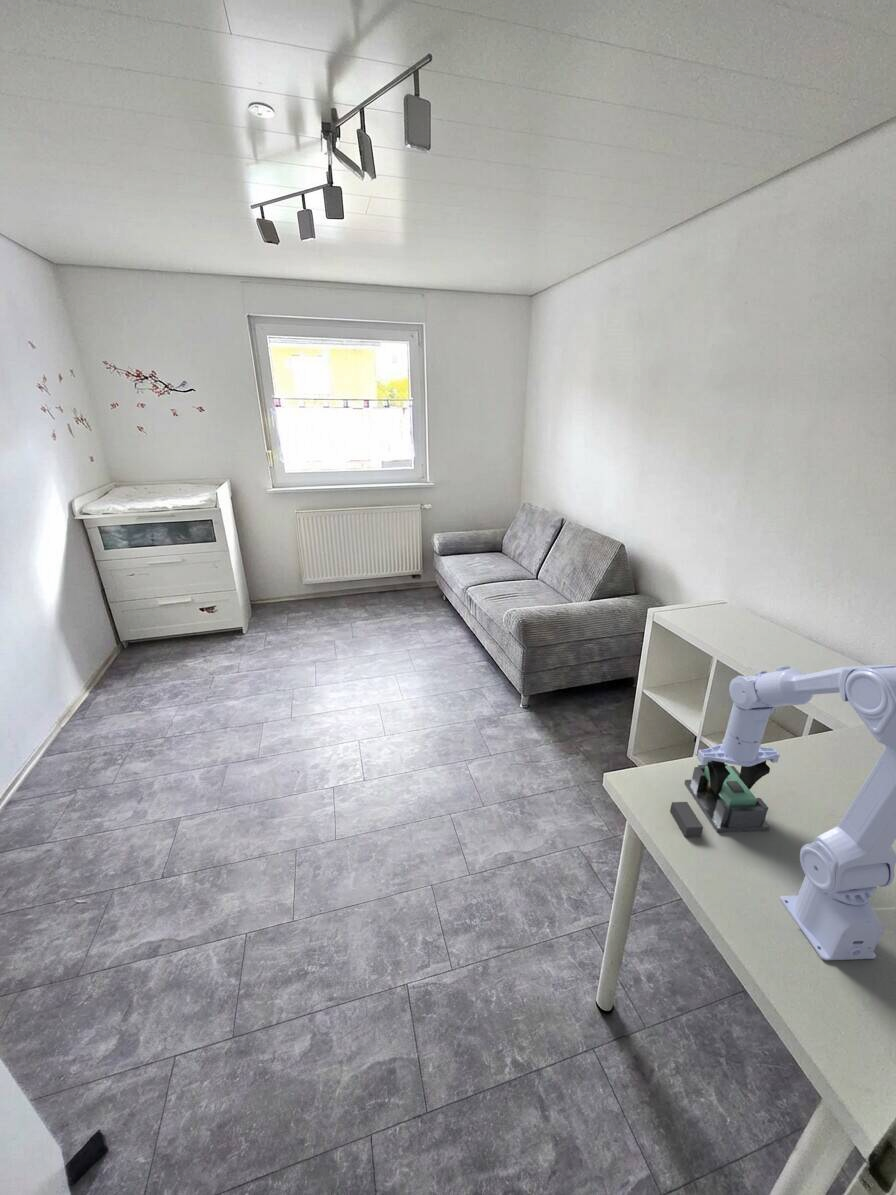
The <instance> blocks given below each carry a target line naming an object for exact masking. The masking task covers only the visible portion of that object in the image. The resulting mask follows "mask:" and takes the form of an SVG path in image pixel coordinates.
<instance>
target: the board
mask: <svg viewBox="0 0 896 1195" xmlns="http://www.w3.org/2000/svg"><path fill="white" fill-rule="evenodd" d="M730 766H731V765H728V766H726V769H727V770H728V771H729V772H730V775H728V777H727V778H726V779H725V781H724V783H723V786H722V789H721V791H720V793H719V796H720V797H721V799H723V800H724V801H725V802H726V804H727V805H728V806H729V808H730V807H755V805H756V802H757V799H756V798H757V797H756V796H755V795H754V794H753V793H752V791H751V789H750V790H749V789H748V788H747V786H746V785H745V784H744V783H743V781H742V780H741V779H740V778H739V777H738V775H737V774H736V773H735V772H734V770H733V769H732V768H731V767H730ZM704 774H705V775H706V776H705V777H706V778H707V779H708V781H709V782H710V775H709V770H708V766H705V771H704Z"/></svg>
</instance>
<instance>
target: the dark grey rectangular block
mask: <svg viewBox="0 0 896 1195" xmlns="http://www.w3.org/2000/svg"><path fill="white" fill-rule="evenodd" d="M669 813H670V815H671V816H672V818H673V819H674V821H675V823H676V825H677V826H678V829H679V830H680V831H681V833H682V835H683V837H684V838H700V837H701V836H702V833H703V830H704V826H703V825H702V823H701V821H700V819H699V818H698V817H697V815H696V813H695V812H694V810H693V809H692V807H691V806H690V804H689V803H688V801H672V802H671V805H670V809H669Z"/></svg>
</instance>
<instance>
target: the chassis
mask: <svg viewBox="0 0 896 1195" xmlns="http://www.w3.org/2000/svg"><path fill="white" fill-rule="evenodd" d="M725 765H726V766H730V767H731V768H732V769H733V770H734V772H735V773H736V774H737V775H738V777H739V776H740V772H739V770H738V769H737V768H736V767H735V765H728V763H725ZM705 766H707V765H702V764H698V766H695V767H694V768H693V772H692V776H691V779H685V780H684V785H685V787H686V788H687V790H688V791H689V793H690V794H691V796H692V798H694V799H693V800H695V802H696V804H698V806H699V808H700V809H701V811H702V813H703V814H704V815H705V817H706V818H707V821H709V823H710V824H711V826H712V828H713V829H714V830H715V832H716V833H735V832H736V833H739V832H740V833H741V832H744V833H745V832H769V831H770V829H771V826H770V824H769V823H768V822H767V820H766V816H767V814H768V810H769V807H768V805H767V804H766V803H765V801H763V799H762V798H761V797H756V799H757V802H756V805H755V807H730V808H729V806H728V805H727V804H726V802H725V801H724V800H723V799H721V797H720V796H719V794H715V792H714V791H713V790H712V788H711V787H710V782H709V781H708V779H707V778H706V777H705V776H706V775H705V774H704V771H705Z"/></svg>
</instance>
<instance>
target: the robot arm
mask: <svg viewBox="0 0 896 1195" xmlns="http://www.w3.org/2000/svg"><path fill="white" fill-rule="evenodd" d="M775 669H776V671H771V672H768V671H767V670H760V671H757V672H756V675H737V676H736V677H734V678H733V679H731V680H730V683H729V687H728V689H729V696H730V698H731V700H732V702H733V703H732V707H731V710H730V711H731V712H730V714H729V718H728V723H727V726H726V729H725V734H724V738H722V743H720V744H717V745H714V746H711V747H707V748H705V749H698V751H697V756H696V758H697V760H698V761H699V763H700V765H707V766H708V770H709V775H710V787H711V788H712V790H713V791H714V792H715V794H719V793H720V791H721V789H722V786H723V783H724V781H725V779H726V778H727V777H728V775H730V772H729V771H728V770H727V769H726V765H725V764H730V765H733V766H735V765H736V766H740V772H739V773H740V776H739V778H740V779H741V780H742V781H743V783H744V784H745V785H746V786H747V788H748V789H749V790H750V791H751V789H752V788H753V787H754V785H755V784H756V783H757V782H759V780H761V778H763V777H764V776H766V775H769V774H770V771H771V768H770V766H769V765H768V764H767V761H770V762H771V763H773V764H775V763H777V764H778V762H779V759H780V757H781V756H780V753H779V752H778V751H777V750H776V749H775V748H774V747H764V746H761V745H762V742H763V739H764V738H763V737H764V733H765V731H766V728H767V724H768V722H769V718H770V716H772V715H773V714H774V711H775V709H776V708H778V707H786V706H787V707H788V706H798V705H801V706H802V705H805V704H807V703H809V702H810V701H811V700H812V698H813V697H814V695H823V694H824V695H825V694H826V695H827V694H839V695H840V698H841V700H842V701H843V702H849V704H850V706H851V707H852V708H853V709H854V712H855V713H856V714H857V716H859V718H860V720H861V721H862V722H863V724H864V725H865V726H866V728H867V729H868V730H869V732H870V733H871V735H872V736H873V737H874V739H875V740H876V741H877V743H880V744H882V745H884V746H885V749H884V751H883V752H882V754H881V755H880V757H879V759H878V760H877V762H876V763H875V764H874V766H873V769H872V770H871V771H870V773H869V775H868V776H867V778H866V779H865V781H864V783H863V784H862V786H861V787H860V789H859V791H858V792H857V794H856V796H855V797H854V799H853V800H852V802H851V804H849V807H848V809H847V810H846V812H845V813H844V815H843V817H842V818H841V820H840V822H839V823H838V824H837V825H836V826H835V827H832V828H831V829H829V830H827V831H824V832H823V833H821V834H819V835H818V836H816V837H815V839H814V841H813V842H810V843H805V844H804V845H803V846H801V848H800V853H799V861H800V865H801V868H802V871H803V873H804V874H805V875H804V877H803V878H804V879H803V881H802V883H801V885H800V889H799V890H798V894H796V895H793V894H792V895H780V897H779V899H780V902H781V903H782V904H783V906H784V907H785V909H786V910H787V912H788V913H789V914H790V916H791V917H792V918H793V920H794V921H795V923H796V924H797V926H798V927H799V928H800V930H801V931H802V933H803V934H804V936H805V937H806V938H807V940H808V941H809V943H810V944H811V945H812V947H813V949H814V950H815V951H816V952H817V954H818V955H819V957H820V958H821V959H822V960H824V961H839V960H840V961H844V960H846V961H847V960H866V959H867V960H868V959H870V960H871V959H873V960H874V959H876V958H877V955H876V953H875V949H876V947H877V945H878V943H879V941H880V939H881V937H882V935H883V934H884V931H885V930H884V925H883V923H882V922H881V920H880V919H879V917H878V916H877V914H876V912H875V910H874V908H873V905H872V903H871V900H870V899H871V898H872V894H874V893H875V892H876V889H877V887H878V888H879V887H880V888H881V887H882V888H883V887H884V888H885V887H889V886H890V885H891V884H892V883H893V882H894V880H895V866H896V851H895V850H894V848H893V847H892V845H893V844H894V843H895V841H896V664H872V665H870V664H869V665H867V664H865V665H852V666H842V667H841V666H840V667H835V668H830V669H826V670H821V671H816V672H812V673H805V672H804V671H802V670H800V669H797V668H791V666H789V665H785V666H784V665H783V666H777V667H775Z"/></svg>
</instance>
